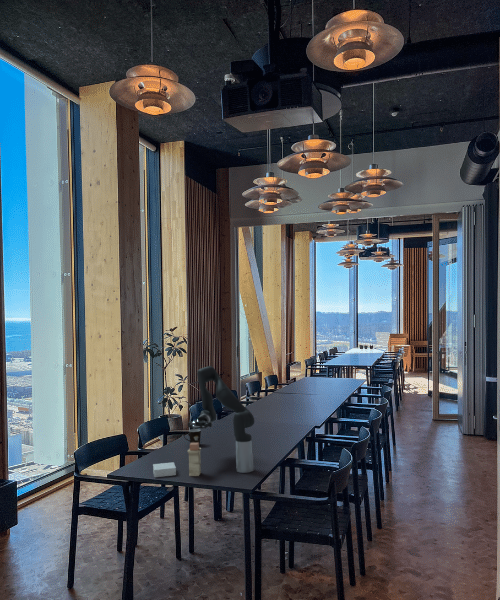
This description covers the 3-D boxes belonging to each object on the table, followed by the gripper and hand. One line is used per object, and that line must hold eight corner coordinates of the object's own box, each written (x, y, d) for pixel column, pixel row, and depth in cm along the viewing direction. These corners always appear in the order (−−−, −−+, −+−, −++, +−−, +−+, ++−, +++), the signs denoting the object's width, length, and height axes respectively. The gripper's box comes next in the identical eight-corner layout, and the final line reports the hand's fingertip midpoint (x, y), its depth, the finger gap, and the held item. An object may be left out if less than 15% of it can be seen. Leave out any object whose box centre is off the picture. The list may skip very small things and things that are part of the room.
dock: (173, 469, 289) (173, 462, 290) (175, 475, 278) (175, 467, 278) (153, 471, 286) (153, 464, 287) (154, 477, 275) (154, 470, 275)
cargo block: (191, 448, 281) (191, 442, 281) (199, 448, 280) (198, 442, 281) (189, 450, 277) (189, 444, 277) (197, 450, 276) (197, 444, 276)
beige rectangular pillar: (190, 472, 281) (190, 447, 282) (201, 472, 281) (201, 447, 281) (188, 476, 275) (187, 450, 276) (199, 476, 274) (198, 450, 275)
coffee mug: (202, 443, 350) (202, 429, 351) (200, 446, 342) (199, 431, 342) (186, 443, 352) (186, 429, 352) (183, 446, 343) (183, 432, 343)
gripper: (191, 415, 307) (185, 420, 291) (214, 414, 306) (209, 420, 289) (192, 427, 307) (186, 433, 291) (214, 427, 305) (209, 433, 289)
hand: (197, 426), depth 290 cm, fingers open, 8 cm apart
